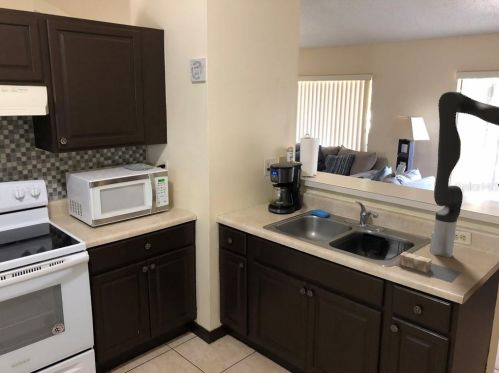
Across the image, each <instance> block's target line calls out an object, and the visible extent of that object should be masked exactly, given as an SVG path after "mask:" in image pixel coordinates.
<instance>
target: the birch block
mask: <svg viewBox="0 0 499 373" xmlns="http://www.w3.org/2000/svg"><path fill="white" fill-rule="evenodd" d="M432 260H433V259H432V258H427V257H424V256H421V255H417V254H413V253H410V252H406V251H403V252H402V253H400V254H399V260H398V262H399V264H400V265H404V266H407V267H410V268H414V269H417V270H420V271H424V272H428V271H429V270H430V269H431V263H432Z"/></svg>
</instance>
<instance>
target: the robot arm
mask: <svg viewBox="0 0 499 373" xmlns="http://www.w3.org/2000/svg"><path fill="white" fill-rule="evenodd" d="M437 105H438V121H439V125H438V126H439V127H438V128H439V129H438V146H437V167H436V169H437V170H436V177H435V183H434V191H433V192H434V193H433V198H434V202H435V204H436V205H437V206H438V207H443V208H441V209H440V210H438V211H436V212H435V217H434V226H433V231H432V232H431V237H430V238H431V239H430V246H429V252H430V253H431V254H432V255H434V256H438V257H441V258H452V257H453V253H454V246H455V239H456V232H457V223H458V218H459V216H460V214H461V209H462V205H463V204H462V203H463V199H464V195H463V191H462V189H461V187H460V186H458V185H450V178H451V175H452V172H453V170H454V169H455V168H456V166H457V164H458V163H459V161H460V158H461V153H462V151H461V150H462V147H461V146H462V141H461V137H460V134H459V130H458V128H457V114H465V115H470V116H473V117H477V118H478V119H480V120H482V121H483V122H487V123H489V124H493V125H496V126H499V106H496V105H492V104H488V103H484V102H481V101H478V100H476V99H473V98H471V97H469V96H467V95H465V94H464V93H461V92H459V91H446V92H443V93H442V94H441V95H440V97H439V99H438V104H437ZM497 186H498V187H499V183H497Z"/></svg>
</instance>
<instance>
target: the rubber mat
mask: <svg viewBox="0 0 499 373" xmlns="http://www.w3.org/2000/svg"><path fill="white" fill-rule="evenodd" d="M394 266H395V267H398V268H401V269H405V270H409V271H412V272H415V273H418V274H422V275H425V276H427V277H431V278H435V279H439V280H441V281H445V282H447V283H453V282H454V281H455V280H456V279H457V278H458V277H459V276H460V275H461V274H462V273H463V271H460V270H458V269H453V268H451V267H447V266H443V265H440V264H436V263H433V262H431V269H430V270H429V271H428V272H424V271H420V270H417V269H414V268H410V267H407V266H404V265H400V264H399V261H397V262H396V263H395V264H394Z"/></svg>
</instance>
